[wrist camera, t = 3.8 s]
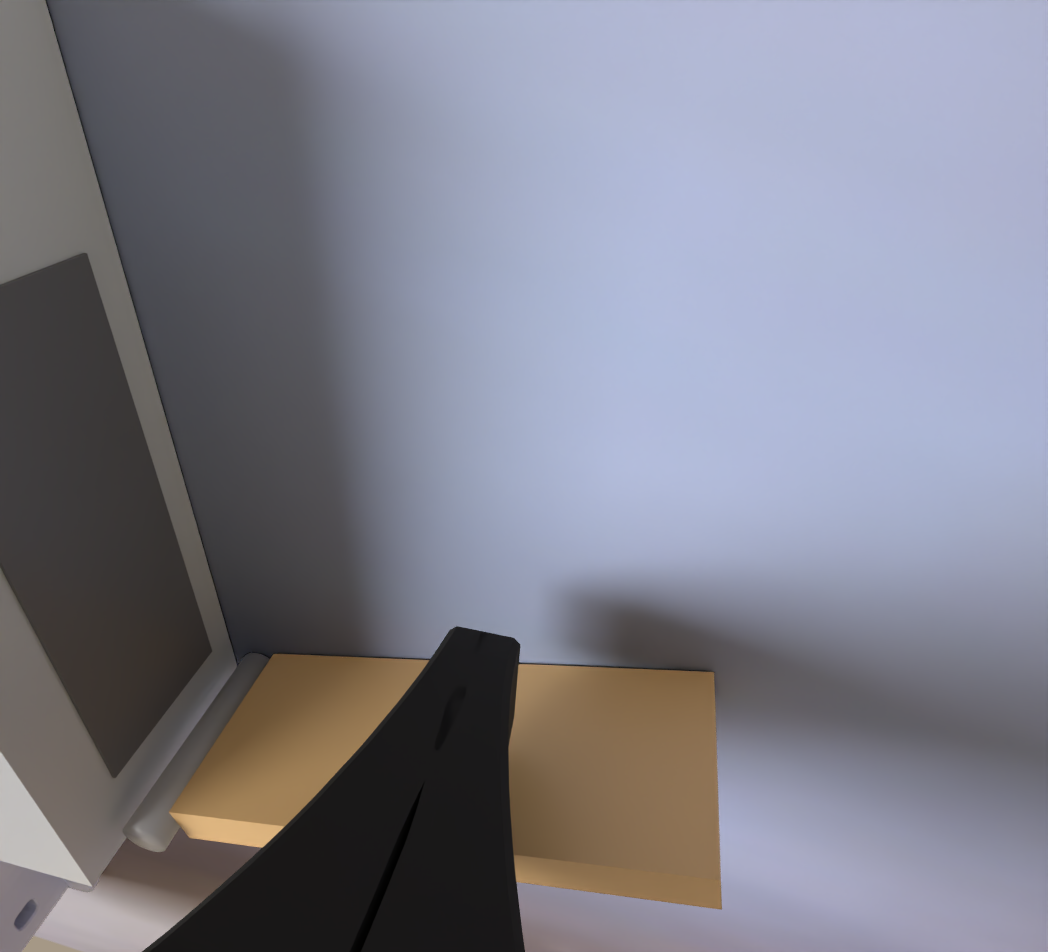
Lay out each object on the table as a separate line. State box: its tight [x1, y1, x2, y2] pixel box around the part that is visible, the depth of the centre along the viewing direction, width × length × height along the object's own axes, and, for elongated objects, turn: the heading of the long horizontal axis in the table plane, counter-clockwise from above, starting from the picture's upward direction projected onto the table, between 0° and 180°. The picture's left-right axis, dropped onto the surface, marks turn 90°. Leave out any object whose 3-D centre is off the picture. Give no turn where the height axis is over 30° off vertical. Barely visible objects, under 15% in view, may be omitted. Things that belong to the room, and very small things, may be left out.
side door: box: [122, 653, 722, 909], centre depth 12 cm, size 10×1×4 cm, turn 100°
